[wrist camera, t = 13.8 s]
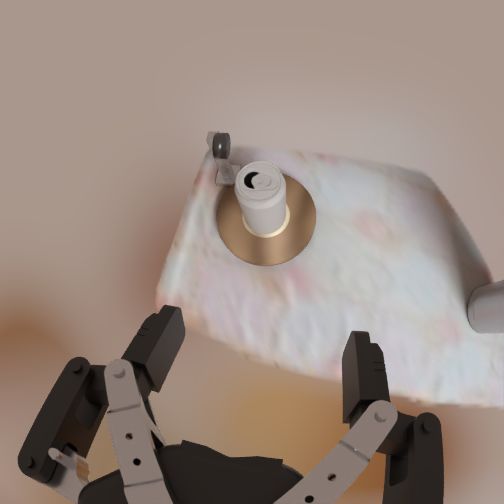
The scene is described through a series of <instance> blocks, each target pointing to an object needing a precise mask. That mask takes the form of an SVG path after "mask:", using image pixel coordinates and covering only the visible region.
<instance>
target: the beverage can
mask: <svg viewBox="0 0 504 504" xmlns="http://www.w3.org/2000/svg"><path fill="white" fill-rule="evenodd" d="M234 189H235V194H236V197H237V199H238V202H239V204H240V207H241V210H242V212H243V215H244V217H245V220H246V223H247V225H248V226H249V227H250V228H251V229H252V230H253V231H255V232H256V233H259V234H271V233H273V232H276V231H277V230H279V229H280V228H281V227H282V225H283V224H284V222H285V218H286V182H285V178H284V176H283V175H282V173H281V172H280V171H279V169H278V168H277V167H276V166H274V165H273V164H271V163H268V162H264V161H257V162H252V163H250V164H248V165H246V166H244V167H243V168H242V169H241V170H240V171H239V173H238V175H237V178H236V181H235V186H234Z"/></svg>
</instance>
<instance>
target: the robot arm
mask: <svg viewBox="0 0 504 504" xmlns="http://www.w3.org/2000/svg"><path fill="white" fill-rule="evenodd" d="M468 319H469V323H470V325H471V327H472V328H473V330H474V331H476V332H477V333H504V280H501V281H498V282H494V283H491V284H487V285H484V286H480V287H478V288H476V289H475V290H474V291H473V293H472V294H471V297H470V299H469V303H468ZM184 337H185V326H184V321H183V317H182V312H181V309H180V308H179V307H175V306H170V305H164V306H163V307H162V309H161V310H160V312H159V313H158V314H156V313H153V314H152V315H151V316H149V317H148V318H147V319H146V320H145V321H144V323H143V324H142V326H141V328H140V329H139V331H138V332H137V335H136V336H135V337H134V338H133V340H132V342H131V343H130V345H129V347H128V348H127V350H126V351H125V353H124V355H123V356H122V357H121V359H116V360H114V361H111V362H110V363H109V364H108V365H106V366H104V365H90V363H89V362H88V360H86V359H85V358H83V357H76V358H73V359H71V360H70V361H69V362H68V363H67V365H66V367H65V368H64V370H63V371H62V373H61V375H60V376H59V378H58V380H57V381H56V383H55V385H54V386H53V388H52V390H51V392H50V394H49V395H48V397H47V399H46V401H45V402H44V404H43V406H42V408H41V410H40V412H39V414H38V415H37V417H36V419H35V421H34V423H33V425H32V427H31V429H30V431H29V433H28V435H27V437H26V440H25V442H24V444H23V446H22V448H21V450H20V453H19V455H18V465H19V468H20V469H21V471H22V472H23V473H24V474H25V475H27V476H29V477H30V478H33V479H34V480H36V481H37V482H39V483H41V484H43V485H46V486H48V487H50V488H52V489H53V490H55V491H56V492H58V493H60V494H61V495H63V496H64V497H66V498H67V499H69V500H71V501H73V502H74V503H76V504H333V503H334V502H335V501H336V500H337V499H338V498H339V497H340V496H341V495H342V494H343V493H344V492H345V490H346V489H347V488H348V487H349V486H350V485H351V484H352V483H353V482H354V481H355V479H356V478H357V477H358V476H359V474H360V473H361V472H362V471H363V470H364V469H365V467H366V466H367V465H368V463H369V461H370V458H371V456H372V455H373V454H374V453H375V452H379V453H383V454H386V468H385V483H384V493H383V502H382V504H443V496H444V464H443V446H442V433H441V424H440V421H439V419H438V418H437V417H436V416H435V415H434V414H432V413H422V414H420V415H419V416H418V417H414V416H410V415H406V414H403V413H400V412H398V411H397V410H396V408H395V407H394V406H393V404H391V402H390V398H389V390H388V382H387V375H386V372H385V370H386V369H385V364H384V356H383V352H382V350H381V349H380V347H379V346H378V344H377V343H370V337H369V333H368V332H365V331H352V332H351V334H350V337H349V339H348V342H347V344H346V347H345V349H344V352H343V357H342V382H343V423H350V430H349V432H348V433H347V434H346V435H345V436H344V437H343V438H342V440H341V441H340V442H339V443H338V444H337V445H336V446H335V447H334V448H333V449H332V450H331V451H330V452H329V453H328V455H327V456H326V457H325V458H324V459H323V460H322V461H321V462H320V463H319V464H318V465H317V466H316V467H315V468H313V469H312V470H311V471H310V472H309V473H308V474H307V475H306V476H305V477H303V476H302V474H300V473H299V472H298V471H296V470H295V469H293V468H291V467H289V466H287V465H284V464H282V462H283V459H274V458H267V457H260V456H253V457H228V456H225V455H223V454H221V453H219V452H217V451H214V450H213V449H211V448H209V447H207V446H204V445H200V444H196V443H192V442H189V441H185V440H182V443H181V444H176V445H167V444H166V442H165V439H164V437H163V435H162V434H161V431H160V429H159V427H158V424H157V421H156V417H155V415H154V412H153V408H152V405H151V402H150V399H149V394H150V392H151V390H152V391H155V392H158V393H159V391H160V389H161V387H162V385H163V383H164V381H165V379H166V376H167V374H168V372H169V370H170V368H171V366H172V364H173V361H174V359H175V357H176V355H177V353H178V351H179V349H180V347H181V345H182V342H183V340H184ZM108 406H110V411H109V412H107V420H108V425H109V429H110V434H111V438H112V442H113V446H114V450H115V454H116V458H117V461H118V465H119V468H120V469H118V470H116V471H114V472H111V473H109V474H107V475H105V476H103V477H101V478H99V479H96V480H94V481H92V482H90V483H89V481H88V475H89V473H90V472H89V467H88V463H87V461H86V460H85V459H86V456H87V454H88V452H89V449H90V447H91V444H92V442H93V440H94V437H95V435H96V433H97V430H98V428H99V426H100V424H101V421H102V419H103V417H104V415H105V412H106V410H107V408H108Z"/></svg>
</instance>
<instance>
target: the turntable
mask: <svg viewBox="0 0 504 504" xmlns="http://www.w3.org/2000/svg"><path fill="white" fill-rule="evenodd" d="M282 175H283V176H284V178H285V182H286V218H285V222H284V224H283V225H282V227H281V228H280V229H279V230H277V231H276V232H273V233H271V234H259V233H256V232H255V231H253V230H252V229H251V228H250V227H249V226H248V225H247V223H246V220H245V217H244V215H243V212H242V210H241V207H240V204H239V202H238V199H237V197H236V194H235V189H234V186H235V183H234V184H233V185H232V186H231V187H230V188H229V189H228V190H227V192H226V193H225V194H224V196H223V198H222V199H221V202H220V204H219V207H218V211H217V227H218V231H219V234H220V237H221V239H222V241H223V242H224V244H225V245H226V247H227V248H228V249H229V250H230V251H231V252H232V253H233V254H234V255H235V256H237V257H238V258H240V259H241V260H243V261H245V262H248V263H251V264H254V265H260V266H271V265H277V264H281V263H284V262H287V261H289V260H291V259H293V258H294V257H295V256H297V255H298V254H299V253H300V252H302V251H303V249H304V248H305V247H306V246H307V244H308V243H309V241H310V239H311V237H312V235H313V232H314V229H315V224H316V210H315V206H314V202H313V200H312V198H311V196H310V194H309V193H308V191H307V190H306V189H305V188H304V186H302V185H301V184H300V183H299V182H298V181H296V180H295V179H293V178H291V177H289V176H287V175H284V174H282Z"/></svg>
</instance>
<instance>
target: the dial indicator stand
mask: <svg viewBox="0 0 504 504" xmlns="http://www.w3.org/2000/svg"><path fill="white" fill-rule="evenodd" d="M207 143H208V145H209V147H210V150H211V152H212V154H213V156H214V159H215V161H216V163H217V165H218V168H219V169H218V173H217V178H216V182H215V184H216V186H232V185H233V184H234V183H235V181H236V178H237V175H238V173H239V171H240V170H241V165H231V164H230V161H229V158H228V157H229V153H230V136H229V134H228V133H219V132H209V133H208V136H207Z"/></svg>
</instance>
